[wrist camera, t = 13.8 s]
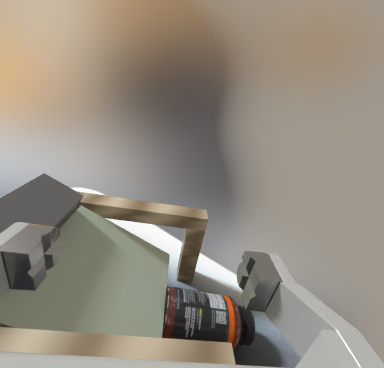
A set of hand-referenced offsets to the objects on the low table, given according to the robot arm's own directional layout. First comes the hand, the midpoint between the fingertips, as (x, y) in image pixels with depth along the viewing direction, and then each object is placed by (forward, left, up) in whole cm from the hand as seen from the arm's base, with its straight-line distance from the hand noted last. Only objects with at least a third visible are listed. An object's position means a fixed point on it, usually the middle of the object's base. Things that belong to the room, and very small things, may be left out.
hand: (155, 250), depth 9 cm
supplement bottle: (+1, +8, -17) cm, 19 cm away
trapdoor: (-7, +9, -12) cm, 16 cm away
